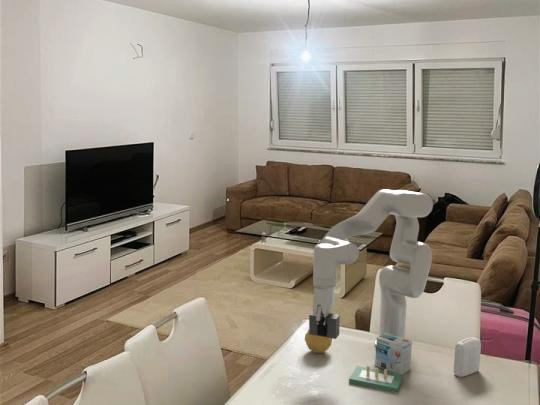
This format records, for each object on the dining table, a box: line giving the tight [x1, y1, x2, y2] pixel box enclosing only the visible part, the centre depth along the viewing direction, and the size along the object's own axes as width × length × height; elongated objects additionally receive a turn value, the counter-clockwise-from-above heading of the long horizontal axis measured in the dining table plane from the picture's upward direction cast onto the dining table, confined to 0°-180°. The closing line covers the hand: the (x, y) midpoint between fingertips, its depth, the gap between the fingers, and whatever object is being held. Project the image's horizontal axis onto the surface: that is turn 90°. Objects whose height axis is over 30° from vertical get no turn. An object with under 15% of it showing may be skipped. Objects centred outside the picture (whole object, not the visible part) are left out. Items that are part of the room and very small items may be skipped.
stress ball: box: [304, 329, 333, 354], centre depth 211 cm, size 10×10×10 cm
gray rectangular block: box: [308, 312, 341, 340], centre depth 192 cm, size 4×9×7 cm, turn 66°
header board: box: [348, 365, 404, 394], centre depth 190 cm, size 10×16×5 cm, turn 66°
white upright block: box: [453, 336, 482, 378], centre depth 195 cm, size 10×4×12 cm, turn 123°
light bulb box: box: [374, 333, 413, 375], centre depth 199 cm, size 11×7×11 cm, turn 47°
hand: (324, 332), depth 192 cm, fingers closed on gray rectangular block, 4 cm apart
